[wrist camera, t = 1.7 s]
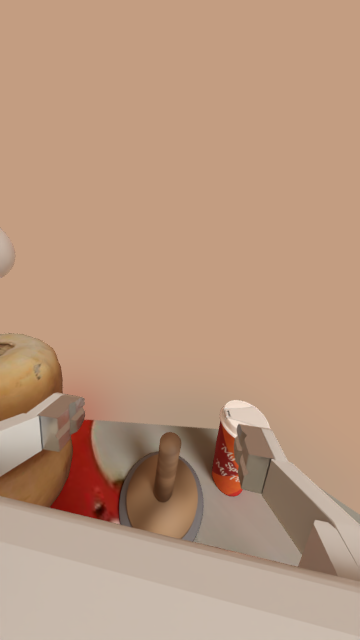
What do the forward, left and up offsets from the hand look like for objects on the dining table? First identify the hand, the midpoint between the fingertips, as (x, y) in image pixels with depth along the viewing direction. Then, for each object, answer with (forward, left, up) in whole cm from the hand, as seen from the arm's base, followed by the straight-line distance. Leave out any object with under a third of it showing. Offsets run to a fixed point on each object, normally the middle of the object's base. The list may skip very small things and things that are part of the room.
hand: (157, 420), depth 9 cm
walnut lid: (-3, +11, -26) cm, 29 cm away
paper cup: (+6, +19, -27) cm, 34 cm away
